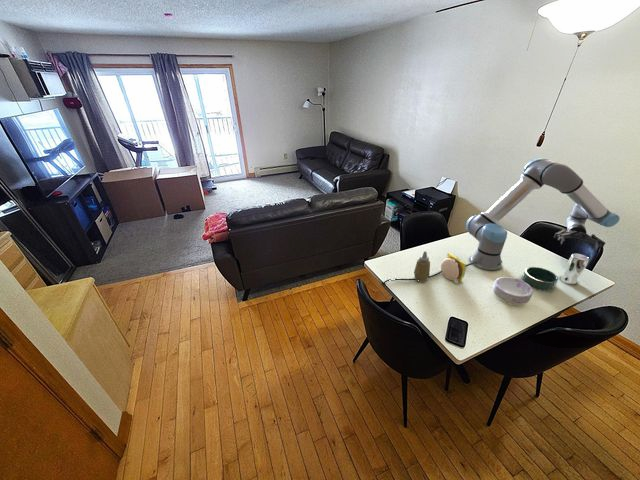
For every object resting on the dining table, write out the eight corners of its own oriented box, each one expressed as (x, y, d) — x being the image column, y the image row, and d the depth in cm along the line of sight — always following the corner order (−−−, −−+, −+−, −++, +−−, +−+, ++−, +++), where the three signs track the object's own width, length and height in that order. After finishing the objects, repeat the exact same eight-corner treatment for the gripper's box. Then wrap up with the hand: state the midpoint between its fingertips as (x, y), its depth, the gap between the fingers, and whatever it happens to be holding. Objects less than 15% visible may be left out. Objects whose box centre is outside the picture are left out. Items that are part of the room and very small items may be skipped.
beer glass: (580, 285, 134) (593, 261, 127) (564, 284, 136) (576, 260, 128) (571, 277, 140) (584, 253, 133) (556, 276, 142) (568, 252, 134)
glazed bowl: (528, 289, 133) (532, 281, 131) (517, 274, 145) (520, 265, 142) (559, 292, 131) (564, 283, 128) (545, 276, 142) (549, 267, 139)
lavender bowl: (483, 292, 133) (487, 279, 130) (507, 285, 137) (512, 273, 133) (510, 312, 121) (515, 299, 117) (535, 305, 124) (542, 292, 120)
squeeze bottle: (410, 279, 145) (414, 252, 136) (416, 273, 150) (421, 246, 141) (424, 285, 140) (429, 257, 131) (430, 278, 145) (436, 250, 136)
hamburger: (436, 273, 149) (439, 255, 143) (448, 269, 151) (452, 252, 146) (452, 285, 139) (456, 266, 133) (464, 281, 141) (469, 263, 136)
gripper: (603, 241, 146) (609, 259, 132) (546, 231, 160) (546, 246, 145) (609, 229, 143) (617, 246, 128) (551, 219, 156) (552, 234, 142)
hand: (579, 246), depth 137 cm, fingers open, 13 cm apart
